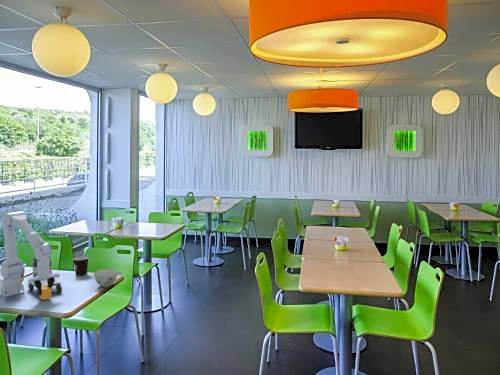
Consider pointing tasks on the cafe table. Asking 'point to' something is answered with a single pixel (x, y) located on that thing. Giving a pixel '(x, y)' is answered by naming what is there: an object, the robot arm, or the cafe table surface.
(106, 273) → the teacup
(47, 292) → the chock
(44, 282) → the trolley
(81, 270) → the coffee mug
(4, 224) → the robot arm
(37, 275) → the supplement container
